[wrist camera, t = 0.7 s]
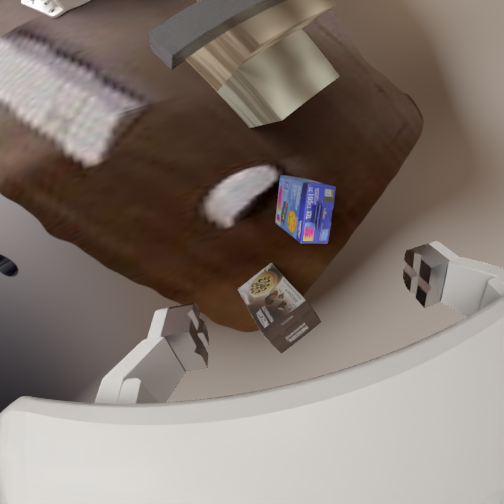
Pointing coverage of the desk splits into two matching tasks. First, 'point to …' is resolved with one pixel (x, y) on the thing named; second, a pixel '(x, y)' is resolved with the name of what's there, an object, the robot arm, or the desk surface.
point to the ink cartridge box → (305, 209)
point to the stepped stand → (267, 62)
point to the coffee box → (278, 308)
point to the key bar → (201, 26)
